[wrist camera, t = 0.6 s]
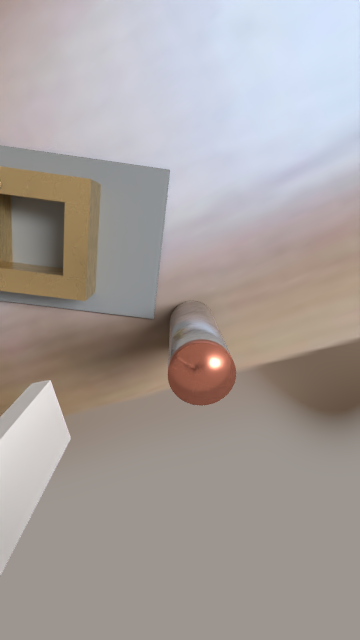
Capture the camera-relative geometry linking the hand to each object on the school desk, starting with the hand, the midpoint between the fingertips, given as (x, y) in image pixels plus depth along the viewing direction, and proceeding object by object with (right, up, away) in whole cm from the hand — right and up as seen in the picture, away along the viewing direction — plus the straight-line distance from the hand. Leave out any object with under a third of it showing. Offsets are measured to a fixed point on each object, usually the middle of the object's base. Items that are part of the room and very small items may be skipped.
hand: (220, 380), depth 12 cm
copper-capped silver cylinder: (0, +2, +21) cm, 21 cm away
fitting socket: (-18, +11, +17) cm, 27 cm away
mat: (-13, +10, +18) cm, 25 cm away
